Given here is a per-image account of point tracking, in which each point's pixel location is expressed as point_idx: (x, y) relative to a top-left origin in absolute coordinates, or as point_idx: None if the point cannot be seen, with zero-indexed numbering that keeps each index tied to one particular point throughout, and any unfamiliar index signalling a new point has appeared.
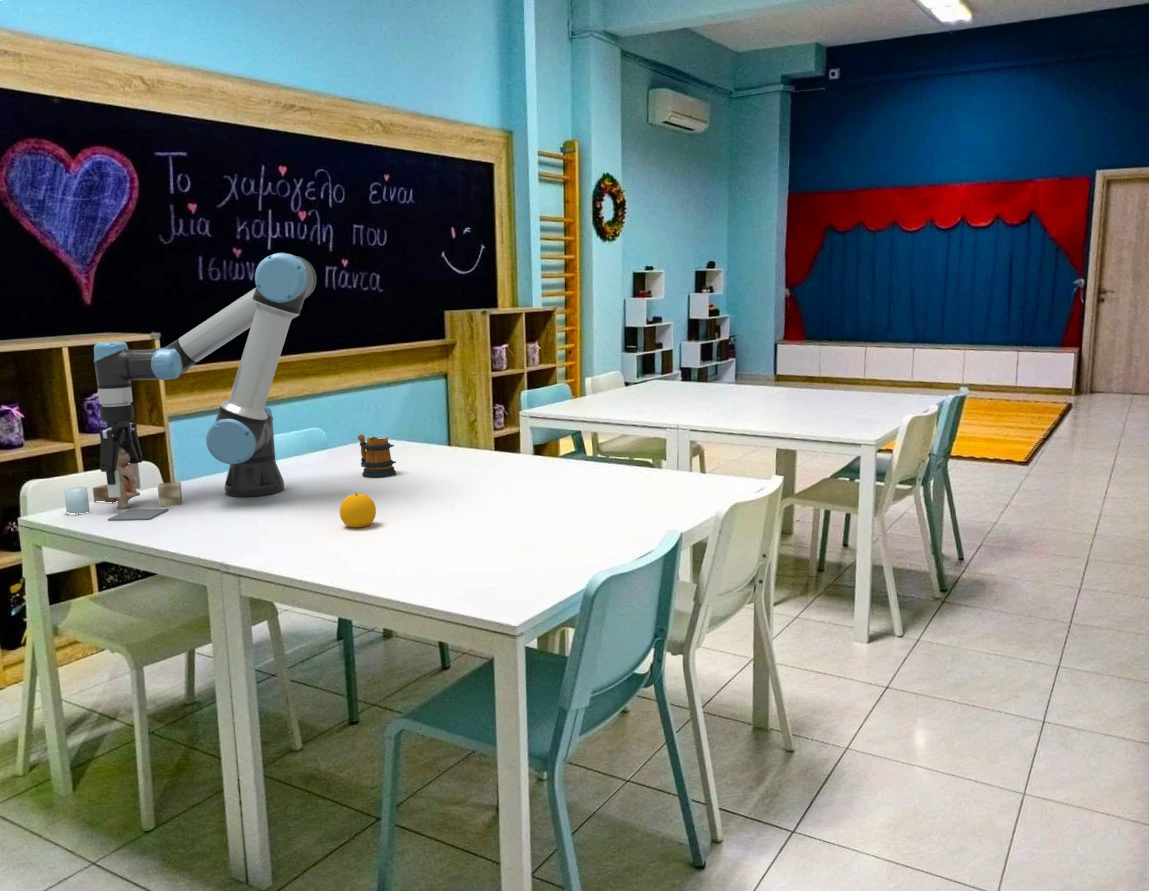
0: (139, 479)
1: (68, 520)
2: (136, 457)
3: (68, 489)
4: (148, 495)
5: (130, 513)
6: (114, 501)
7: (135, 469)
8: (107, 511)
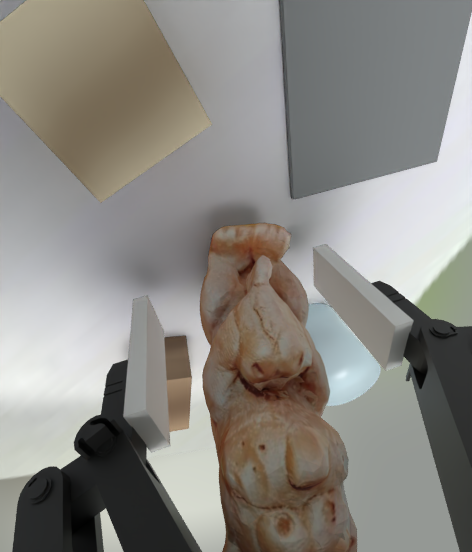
0: (135, 328)
1: (392, 283)
2: (131, 468)
3: (349, 395)
4: (26, 324)
5: (365, 133)
6: (177, 340)
7: (150, 382)
8: (295, 266)
